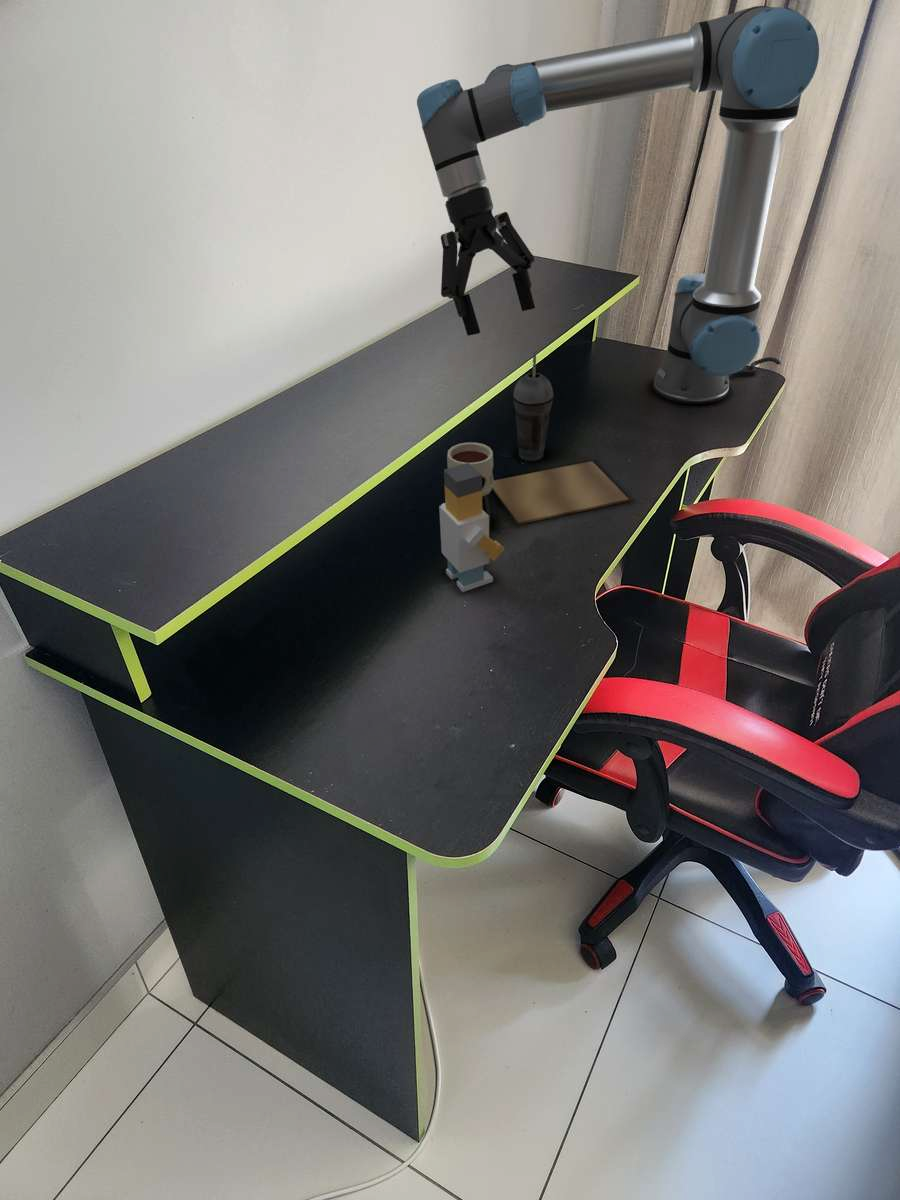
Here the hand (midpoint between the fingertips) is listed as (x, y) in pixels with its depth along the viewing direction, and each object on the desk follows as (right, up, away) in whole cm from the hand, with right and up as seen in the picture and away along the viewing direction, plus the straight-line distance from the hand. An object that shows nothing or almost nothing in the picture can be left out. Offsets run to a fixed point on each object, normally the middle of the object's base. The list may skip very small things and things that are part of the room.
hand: (501, 321), depth 137 cm
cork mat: (+9, -30, -3) cm, 32 cm away
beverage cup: (+6, -22, +8) cm, 24 cm away
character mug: (-6, -37, -9) cm, 38 cm away
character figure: (-6, -46, -21) cm, 51 cm away
